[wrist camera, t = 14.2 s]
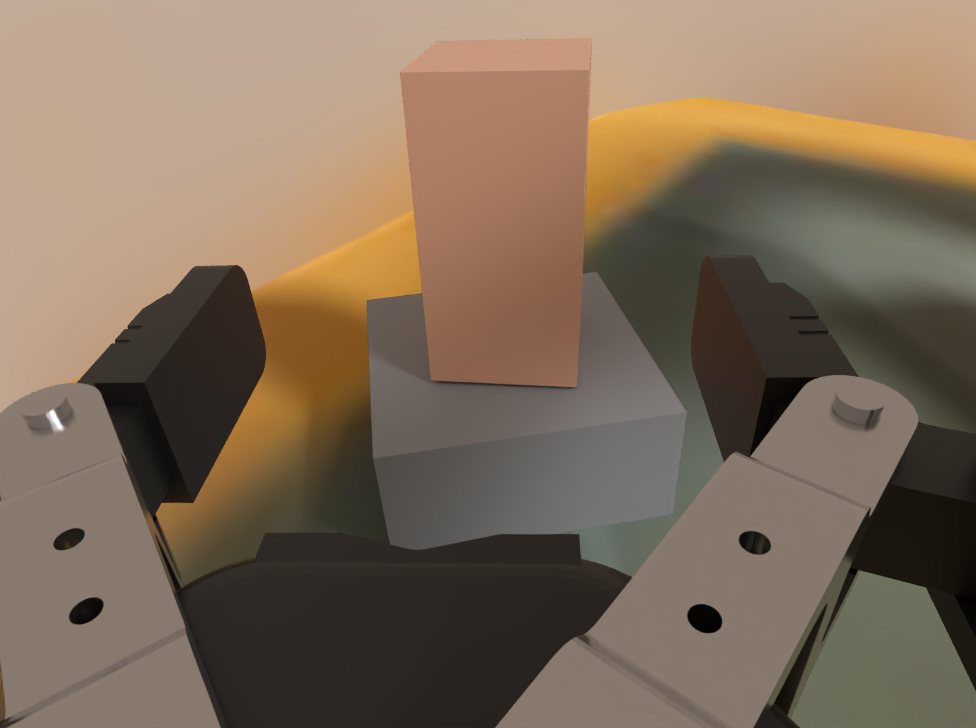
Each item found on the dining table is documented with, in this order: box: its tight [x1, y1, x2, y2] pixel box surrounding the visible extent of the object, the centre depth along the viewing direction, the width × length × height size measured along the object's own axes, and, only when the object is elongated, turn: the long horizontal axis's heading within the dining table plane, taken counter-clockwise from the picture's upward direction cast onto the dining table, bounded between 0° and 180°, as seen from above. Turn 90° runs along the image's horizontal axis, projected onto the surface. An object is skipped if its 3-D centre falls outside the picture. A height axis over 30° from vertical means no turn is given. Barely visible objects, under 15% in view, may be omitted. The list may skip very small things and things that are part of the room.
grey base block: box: [367, 272, 687, 550], centre depth 27 cm, size 10×10×5 cm
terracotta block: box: [400, 38, 592, 387], centre depth 23 cm, size 5×5×10 cm
